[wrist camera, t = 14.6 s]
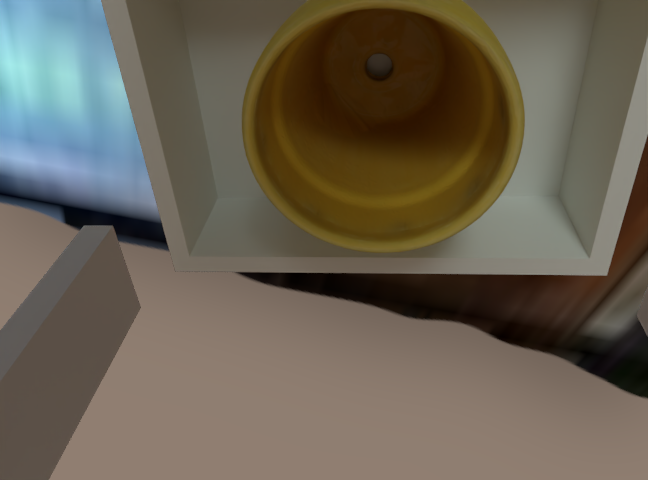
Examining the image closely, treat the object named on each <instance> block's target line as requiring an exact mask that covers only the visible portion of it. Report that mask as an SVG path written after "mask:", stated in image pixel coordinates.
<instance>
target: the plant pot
mask: <svg viewBox="0 0 648 480" xmlns="http://www.w3.org/2000/svg"><path fill="white" fill-rule="evenodd" d="M374 54H385V55H387V56H388V57H389V58H390V59H391V61H392V68H391V71H390V72H389V73H388V74H387V75H385V76H381V77H379V76H375V75H373V74H371V73H370V72H369V70H368V69H367V61H368V59H369V58H370V57H371V56H372V55H374ZM524 127H525V112H524V103H523V97H522V93H521V89H520V85H519V82H518V79H517V76H516V74H515V71H514V69H513V66H512V64H511V62H510V60H509V58H508V56H507V54H506V52H505V50H504V49H503V47H502V45H501V44H500V42H499V40H498V39H497V37H496V36H495V34H494V33H493V31H492V30H491V29H490V27H489V26H488V25H487V24H486V23H485V21H484V20H483V19H482V18H481V17H480V16H479V15H478V14H477V13H476V12H475V11H474V10H473V9H472V8H471V7H470V6H469V5H467V4H466V3H465V2H463V1H462V0H308V1H306V2H305V3H304V4H303V5H301V6H300V7H299V8H298V9H297V10H296V11H295V12H294V13H293V14H292V15H291V16H290V17H289V18H288V19H287V20H286V21H285V22H284V23H283V24H282V25H281V27H280V28H279V29H278V30H277V32H276V33H275V34H274V36H273V37H272V38H271V40H270V41H269V43H268V44H267V46H266V47H265V49H264V50H263V52H262V54H261V55H260V57H259V59H258V61H257V63H256V65H255V67H254V69H253V71H252V73H251V76H250V78H249V81H248V84H247V88H246V91H245V95H244V100H243V107H242V136H243V143H244V149H245V153H246V157H247V160H248V163H249V166H250V168H251V170H252V173H253V175H254V177H255V179H256V181H257V183H258V184H259V186H260V188H261V189H262V191H263V192H264V194H265V195H266V196H267V198H268V199H269V200H270V201H271V203H272V204H273V205H274V206H275V207H276V208H277V209H278V210H279V211H280V212H281V213H282V214H283V215H284V216H285V217H286V218H287V219H288V220H290V221H291V222H292V223H293V224H295V225H296V226H298V227H299V228H301V229H302V230H304V231H305V232H307V233H309V234H310V235H312V236H314V237H316V238H318V239H320V240H322V241H325V242H328V243H330V244H333V245H336V246H339V247H343V248H346V249H350V250H355V251H360V252H371V253H393V252H404V251H410V250H415V249H419V248H422V247H426V246H430V245H433V244H435V243H438V242H441V241H443V240H445V239H447V238H449V237H452V236H453V235H455V234H457V233H459V232H460V231H462V230H464V229H465V228H467V227H468V226H470V225H471V224H472V223H474V222H475V221H476V220H478V219H479V218H480V217H481V216H482V215H483V214H484V213H485V212H486V211H487V210H488V209H489V208H490V207H491V206H492V205H493V204H494V203H495V201H496V200H497V199H498V198H499V196H500V195H501V194H502V192H503V191H504V189H505V187H506V186H507V184H508V182H509V181H510V179H511V177H512V175H513V173H514V170H515V168H516V165H517V163H518V160H519V156H520V152H521V148H522V144H523V138H524Z"/></svg>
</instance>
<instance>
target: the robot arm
mask: <svg viewBox="0 0 648 480" xmlns="http://www.w3.org/2000/svg"><path fill="white" fill-rule="evenodd" d="M140 308H141V307H140V304H139V301H138V298H137V295H136V292H135V289H134V286H133V284H132V281H131V277H130V275H129V272H128V269H127V266H126V263H125V260H124V257H123V254H122V251H121V248H120V245H119V242H118V239H117V236H116V234H115V231H114V228H113V226H83V228H82V229H81V230H80V231H79V233H78V234H77V235H76V236H75V238H74V239H73V240H72V241H71V243H70V244H69V245H68V246H67V248H66V249H65V250H64V251H63V253H62V254H61V255H60V256H59V258H58V259H57V260H56V262H55V263H54V264H53V265H52V266H51V268H50V269H49V270H48V272H47V273H46V274H45V275H44V276H43V278H42V279H41V280H40V282H39V283H38V284H37V285H36V287H35V288H34V289H33V290H32V292H31V293H30V294H29V295H28V297H27V298H26V299H25V300H24V302H23V303H22V304H21V305H20V307H19V308H18V309H17V310H16V312H15V313H14V314H13V315H12V317H11V318H10V319H9V320H8V322H7V323H6V324H5V325H4V327H3V328H2V329H1V330H0V480H49V478H50V476H51V474H52V473H53V471H54V469H55V467H56V465H57V463H58V461H59V459H60V458H61V456H62V454H63V452H64V450H65V448H66V446H67V444H68V443H69V441H70V438H71V437H72V435H73V433H74V431H75V430H76V428H77V426H78V424H79V422H80V420H81V418H82V416H83V415H84V413H85V411H86V409H87V407H88V405H89V403H90V401H91V399H92V398H93V396H94V394H95V392H96V390H97V388H98V387H99V385H100V383H101V381H102V379H103V377H104V375H105V373H106V372H107V370H108V368H109V366H110V364H111V362H112V360H113V358H114V357H115V355H116V353H117V351H118V349H119V347H120V345H121V344H122V342H123V340H124V338H125V336H126V334H127V332H128V330H129V329H130V327H131V325H132V323H133V321H134V319H135V317H136V315H137V314H138V312H139V310H140ZM637 317H638V319H639V321H640V323H641V325H642V327H643V328H644V330H645V332H646V334H647V336H648V286H647V289H646V292H645V295H644V297H643V300H642V303H641V306H640V309H639V311H638V314H637Z"/></svg>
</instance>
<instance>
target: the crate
mask: <svg viewBox="0 0 648 480" xmlns="http://www.w3.org/2000/svg"><path fill="white" fill-rule="evenodd" d="M306 1H308V0H101V2H102V6H103V9H104V13H105V17H106V20H107V24H108V28H109V31H110V35H111V39H112V42H113V46H114V50H115V53H116V57H117V61H118V64H119V68H120V71H121V75H122V79H123V82H124V86H125V90H126V93H127V97H128V101H129V104H130V108H131V112H132V115H133V119H134V123H135V126H136V130H137V134H138V137H139V141H140V145H141V148H142V152H143V156H144V159H145V163H146V167H147V170H148V174H149V178H150V181H151V185H152V189H153V192H154V196H155V200H156V203H157V207H158V211H159V214H160V218H161V222H162V225H163V229H164V233H165V236H166V240H167V244H168V247H169V251H170V255H171V258H172V262H173V266H174V269H175V271H183V272H184V271H186V272H193V271H194V272H293V273H403V274H514V275H607V273H608V270H609V266H610V263H611V259H612V256H613V252H614V249H615V245H616V242H617V238H618V235H619V232H620V228H621V225H622V221H623V218H624V214H625V211H626V207H627V204H628V200H629V197H630V193H631V190H632V187H633V183H634V180H635V176H636V173H637V169H638V166H639V162H640V159H641V155H642V152H643V148H644V145H645V142H646V138H647V135H648V0H462V1H463V2H465V3H466V4H467V5H469V6H470V7H471V8H472V9H473V10H474V11H475V12H476V13H477V14H478V15H479V16H480V17H481V18H482V19H483V20H484V21H485V23H486V24H487V25H488V26H489V27H490V29H491V30H492V31H493V33H494V34H495V36H496V37H497V39H498V40H499V42H500V44H501V45H502V47H503V49H504V50H505V52H506V54H507V56H508V58H509V60H510V62H511V64H512V66H513V69H514V71H515V74H516V76H517V79H518V82H519V85H520V89H521V93H522V97H523V103H524V112H525V127H524V138H523V144H522V148H521V152H520V156H519V160H518V163H517V165H516V168H515V170H514V173H513V175H512V177H511V179H510V181H509V182H508V184H507V186H506V187H505V189H504V191H503V192H502V194H501V195H500V196H499V198H498V199H497V200H496V201H495V203H494V204H493V205H492V206H491V207H490V208H489V209H488V210H487V211H486V212H485V213H484V214H483V215H482V216H481V217H480V218H479V219H478V220H476V221H475V222H474V223H472V224H471V225H470V226H468V227H467V228H465V229H464V230H462V231H460V232H459V233H457V234H455V235H453V236H452V237H449V238H447V239H445V240H443V241H441V242H438V243H435V244H433V245H430V246H426V247H422V248H419V249H415V250H410V251H404V252H393V253H371V252H360V251H355V250H350V249H346V248H343V247H339V246H336V245H333V244H330V243H328V242H325V241H322V240H320V239H318V238H316V237H314V236H312V235H310V234H309V233H307V232H305V231H304V230H302V229H301V228H299V227H298V226H296V225H295V224H293V223H292V222H291V221H290V220H288V219H287V218H286V217H285V216H284V215H283V214H282V213H281V212H280V211H279V210H278V209H277V208H276V207H275V206H274V205H273V204H272V203H271V201H270V200H269V199H268V198H267V196H266V195H265V194H264V192H263V191H262V189H261V188H260V186H259V184H258V183H257V181H256V179H255V177H254V175H253V173H252V170H251V168H250V166H249V163H248V160H247V157H246V153H245V149H244V143H243V136H242V107H243V100H244V95H245V91H246V88H247V84H248V81H249V78H250V76H251V73H252V71H253V69H254V67H255V65H256V63H257V61H258V59H259V57H260V55H261V54H262V52H263V50H264V49H265V47H266V46H267V44H268V43H269V41H270V40H271V38H272V37H273V36H274V34H275V33H276V32H277V30H278V29H279V28H280V27H281V25H282V24H283V23H284V22H285V21H286V20H287V19H288V18H289V17H290V16H291V15H292V14H293V13H294V12H295V11H296V10H297V9H298V8H299V7H300V6H301V5H303V4H304V3H305V2H306ZM391 68H392V61H391V59H390V58H389V57H388V56H387V55H385V54H374V55H372V56H371V57H370V58H369V59H368V61H367V69H368V70H369V72H370V73H371V74H373V75H375V76H379V77H381V76H385V75H387V74H388V73H389V72H390V71H391Z"/></svg>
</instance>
